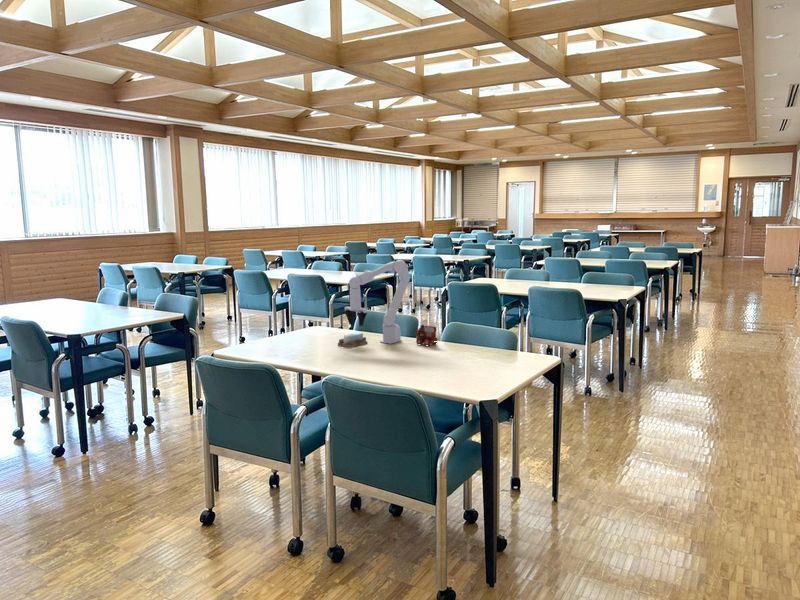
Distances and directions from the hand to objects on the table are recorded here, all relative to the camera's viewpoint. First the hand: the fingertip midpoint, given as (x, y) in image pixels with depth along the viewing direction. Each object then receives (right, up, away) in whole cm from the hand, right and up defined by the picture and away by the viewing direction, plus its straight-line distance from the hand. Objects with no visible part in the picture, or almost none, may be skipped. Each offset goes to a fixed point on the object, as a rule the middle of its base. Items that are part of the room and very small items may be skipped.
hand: (356, 324), depth 313 cm
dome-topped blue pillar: (-2, -9, -4) cm, 10 cm away
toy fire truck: (+37, -10, -7) cm, 39 cm away
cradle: (-2, -10, -4) cm, 11 cm away
